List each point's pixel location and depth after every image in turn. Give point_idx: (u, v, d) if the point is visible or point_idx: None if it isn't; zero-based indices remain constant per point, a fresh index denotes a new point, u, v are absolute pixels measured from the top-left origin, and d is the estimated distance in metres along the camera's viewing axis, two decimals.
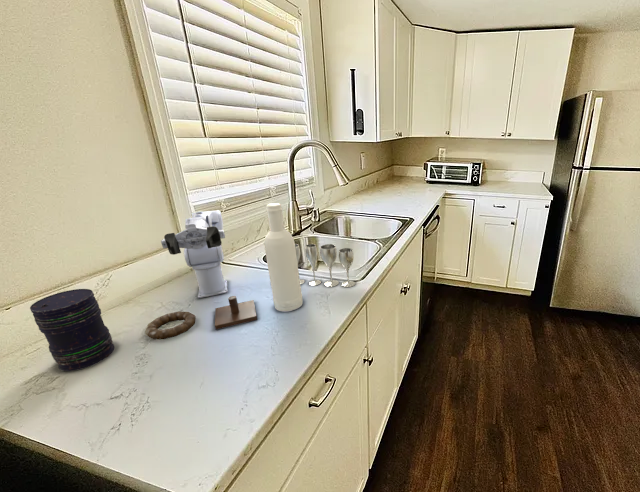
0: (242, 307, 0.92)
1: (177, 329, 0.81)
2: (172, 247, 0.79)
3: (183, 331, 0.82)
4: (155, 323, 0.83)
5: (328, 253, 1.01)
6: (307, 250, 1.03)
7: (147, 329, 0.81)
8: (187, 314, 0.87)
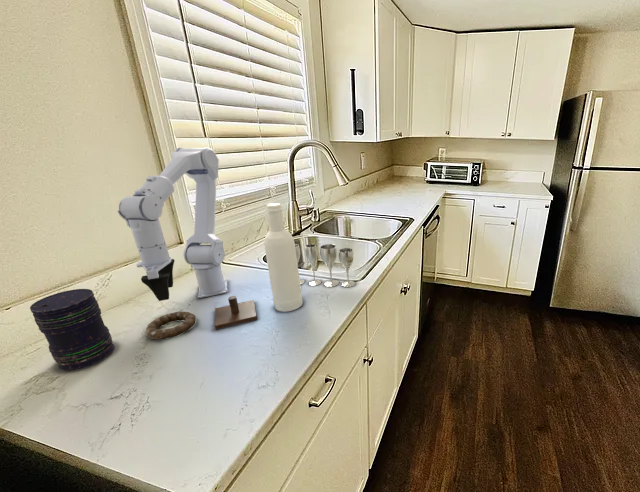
0: (242, 307, 0.92)
1: (177, 329, 0.81)
2: None
3: (183, 331, 0.82)
4: (155, 323, 0.83)
5: (328, 253, 1.01)
6: (307, 250, 1.03)
7: (147, 329, 0.81)
8: (187, 314, 0.87)
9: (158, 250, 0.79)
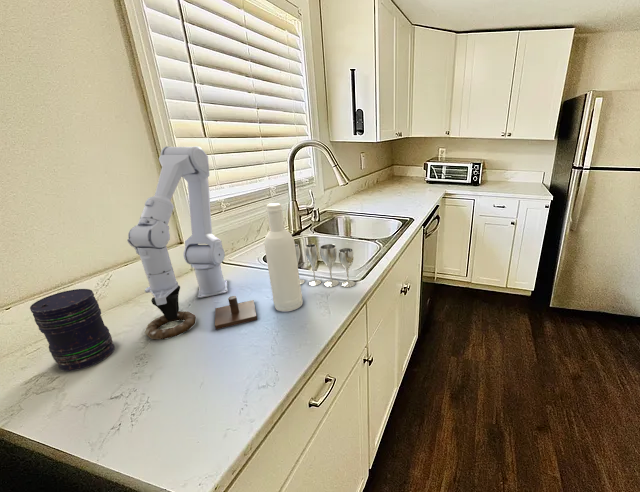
0: (242, 307, 0.92)
1: (177, 329, 0.81)
2: None
3: (183, 331, 0.82)
4: (155, 323, 0.83)
5: (328, 253, 1.01)
6: (307, 250, 1.03)
7: (147, 329, 0.81)
8: (187, 314, 0.87)
9: (166, 276, 0.82)
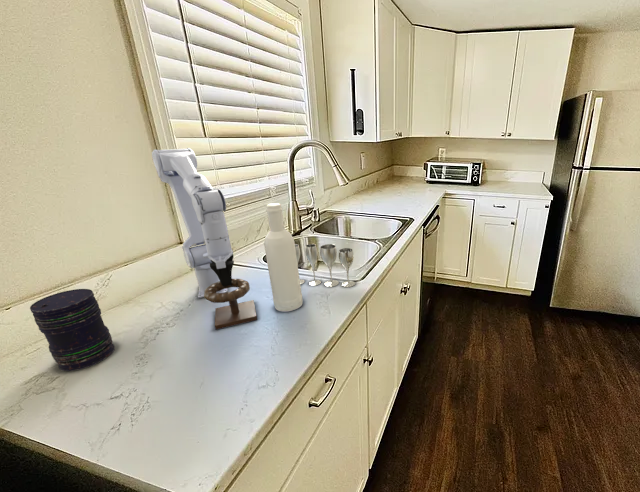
0: (242, 307, 0.92)
1: (235, 293, 0.83)
2: None
3: (240, 296, 0.85)
4: (212, 288, 0.86)
5: (328, 253, 1.01)
6: (307, 250, 1.03)
7: (206, 293, 0.83)
8: (241, 281, 0.89)
9: (224, 242, 0.84)
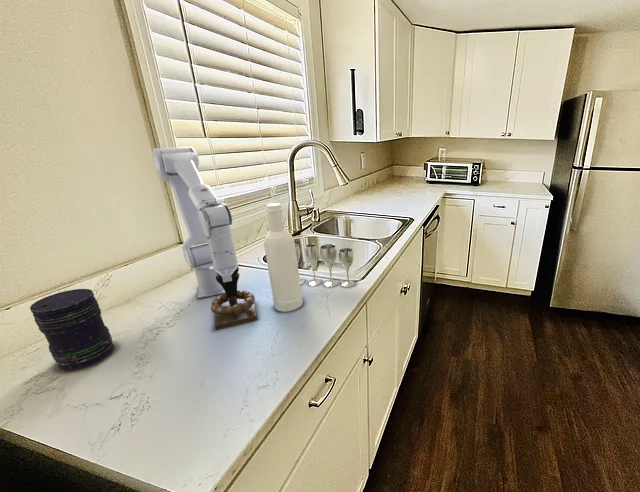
0: None
1: (241, 306, 0.85)
2: None
3: (246, 308, 0.86)
4: (218, 300, 0.88)
5: (328, 253, 1.01)
6: (307, 250, 1.03)
7: (213, 306, 0.85)
8: (246, 293, 0.91)
9: (230, 255, 0.86)
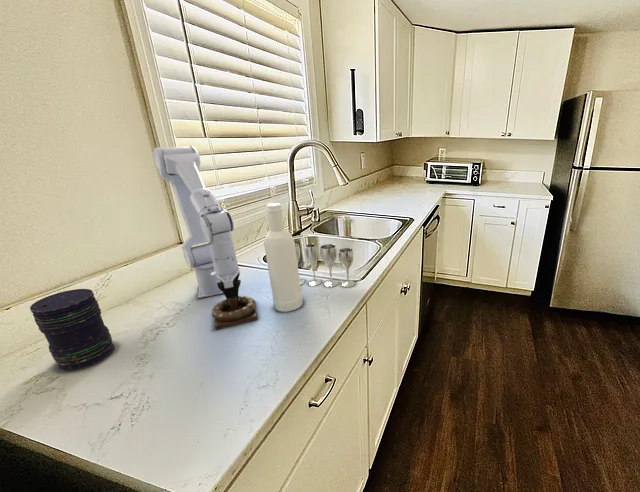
0: (242, 307, 0.92)
1: (242, 311, 0.86)
2: None
3: (247, 314, 0.87)
4: (220, 306, 0.88)
5: (328, 253, 1.01)
6: (307, 250, 1.03)
7: (214, 311, 0.86)
8: (247, 298, 0.92)
9: (231, 261, 0.87)
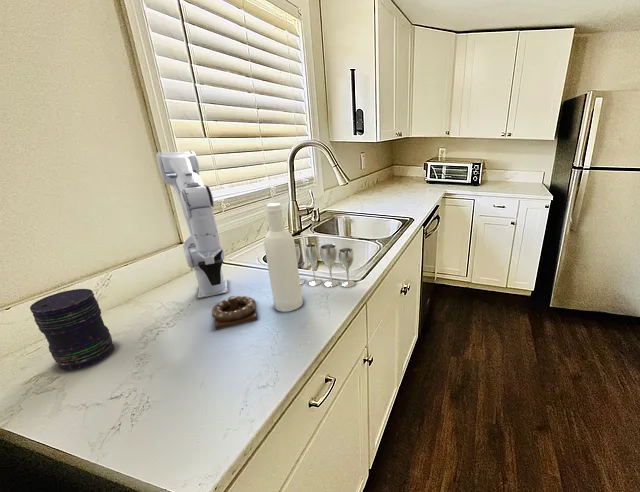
0: (242, 307, 0.92)
1: (242, 311, 0.86)
2: None
3: (247, 314, 0.87)
4: (220, 306, 0.88)
5: (328, 253, 1.01)
6: (307, 250, 1.03)
7: (214, 311, 0.86)
8: (247, 298, 0.92)
9: (212, 238, 0.85)
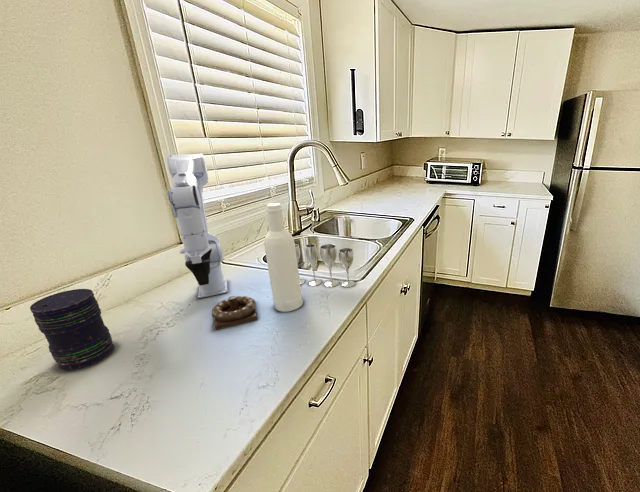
0: (242, 307, 0.92)
1: (242, 311, 0.86)
2: None
3: (247, 314, 0.87)
4: (220, 306, 0.88)
5: (328, 253, 1.01)
6: (307, 250, 1.03)
7: (214, 311, 0.86)
8: (247, 298, 0.92)
9: (200, 237, 0.85)
